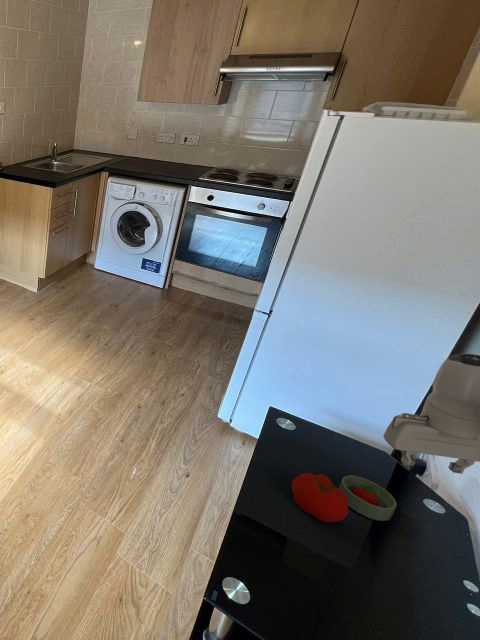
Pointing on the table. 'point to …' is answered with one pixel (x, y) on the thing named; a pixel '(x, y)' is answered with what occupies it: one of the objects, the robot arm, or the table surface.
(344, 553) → the table surface
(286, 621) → the table surface
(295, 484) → the tomato
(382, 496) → the bowl
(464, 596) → the table surface
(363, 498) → the strawberry
